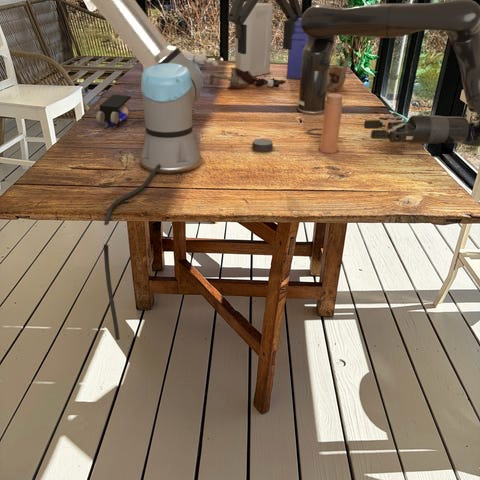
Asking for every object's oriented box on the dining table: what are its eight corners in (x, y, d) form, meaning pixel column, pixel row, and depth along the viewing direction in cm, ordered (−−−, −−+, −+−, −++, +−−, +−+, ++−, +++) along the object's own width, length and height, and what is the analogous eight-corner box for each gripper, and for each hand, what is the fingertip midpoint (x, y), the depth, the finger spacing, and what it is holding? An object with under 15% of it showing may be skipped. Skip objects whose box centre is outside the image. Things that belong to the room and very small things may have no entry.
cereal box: (326, 77, 211) (332, 17, 198) (327, 79, 206) (333, 19, 194) (286, 76, 211) (290, 16, 199) (287, 78, 207) (290, 18, 195)
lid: (267, 144, 136) (268, 137, 135) (275, 151, 131) (275, 144, 130) (249, 146, 134) (249, 139, 133) (256, 153, 130) (256, 146, 129)
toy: (173, 75, 210) (172, 58, 207) (149, 64, 228) (148, 49, 224) (220, 69, 222) (220, 53, 218) (194, 59, 239) (193, 45, 236)
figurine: (210, 87, 179) (288, 95, 182) (212, 65, 176) (291, 73, 180) (208, 84, 201) (278, 91, 205) (210, 64, 198) (280, 71, 202)
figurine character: (119, 135, 145) (134, 115, 156) (115, 111, 140) (131, 93, 152) (98, 134, 145) (114, 114, 157) (93, 110, 141) (110, 92, 152)
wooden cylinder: (337, 153, 131) (344, 98, 123) (320, 152, 131) (326, 97, 123) (335, 147, 135) (342, 93, 127) (319, 147, 135) (324, 92, 127)
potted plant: (332, 93, 201) (333, 95, 187) (318, 79, 200) (318, 79, 186) (355, 70, 197) (357, 69, 183) (340, 55, 196) (341, 53, 182)
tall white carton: (273, 76, 210) (276, 6, 196) (239, 77, 209) (240, 6, 194) (266, 67, 226) (268, 2, 212) (235, 67, 225) (235, 1, 210)
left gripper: (229, -49, 100) (229, 57, 111) (321, -47, 112) (313, 49, 123) (212, -49, 106) (214, 52, 117) (302, -47, 117) (295, 45, 128)
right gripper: (421, 108, 134) (364, 108, 134) (439, 124, 122) (376, 123, 122) (416, 134, 138) (360, 134, 138) (433, 152, 125) (371, 151, 125)
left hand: (265, 51), depth 120 cm, fingers open, 13 cm apart
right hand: (367, 129), depth 130 cm, fingers open, 8 cm apart
